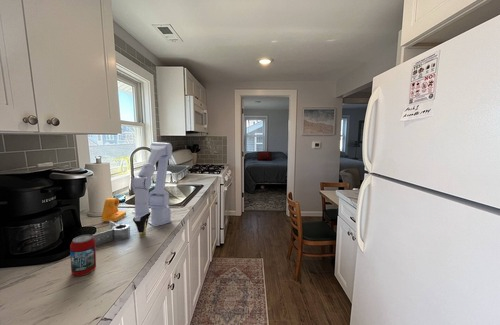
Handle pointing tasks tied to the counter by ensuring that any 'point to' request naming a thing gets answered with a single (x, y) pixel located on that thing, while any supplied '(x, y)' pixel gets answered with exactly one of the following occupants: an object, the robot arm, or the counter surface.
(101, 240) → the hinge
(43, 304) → the counter surface
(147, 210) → the robot arm
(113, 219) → the bracket
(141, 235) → the hinge pin
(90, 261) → the beverage can
